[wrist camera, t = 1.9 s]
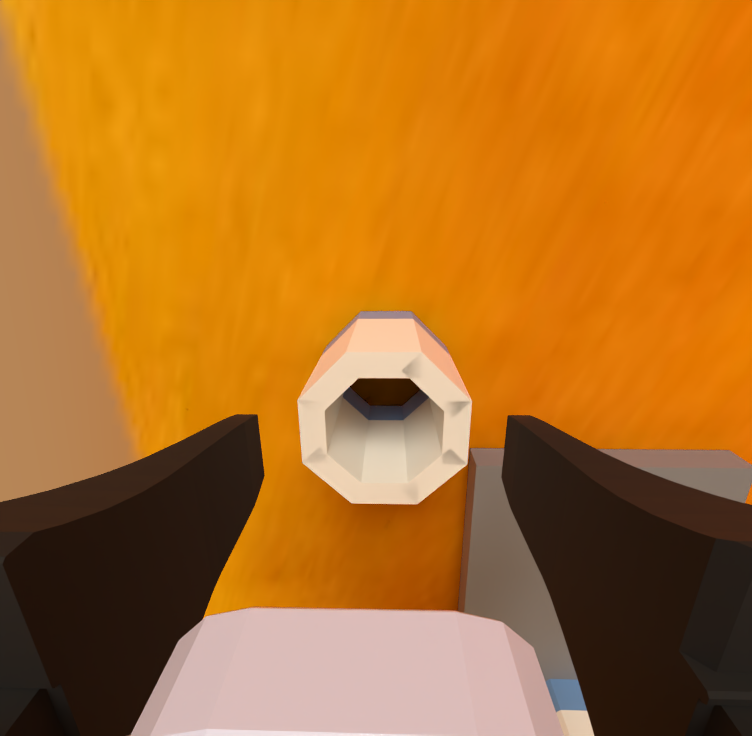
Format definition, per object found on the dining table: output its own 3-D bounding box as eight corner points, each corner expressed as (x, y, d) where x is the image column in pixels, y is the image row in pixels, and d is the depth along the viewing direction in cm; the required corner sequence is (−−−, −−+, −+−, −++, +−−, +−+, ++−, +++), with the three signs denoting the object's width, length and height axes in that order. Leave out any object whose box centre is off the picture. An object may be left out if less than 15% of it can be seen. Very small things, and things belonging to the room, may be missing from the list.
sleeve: (447, 311, 17) (475, 351, 11) (441, 421, 19) (464, 504, 13) (325, 311, 17) (293, 351, 12) (330, 421, 19) (305, 503, 13)
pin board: (729, 450, 19) (859, 535, 14) (641, 729, 25) (706, 858, 20) (470, 448, 19) (500, 529, 14) (449, 723, 26) (464, 848, 20)
